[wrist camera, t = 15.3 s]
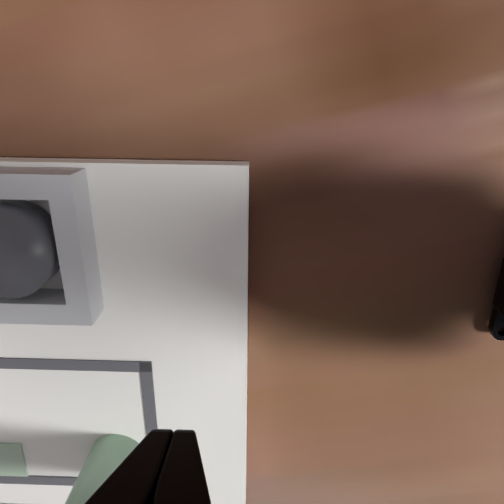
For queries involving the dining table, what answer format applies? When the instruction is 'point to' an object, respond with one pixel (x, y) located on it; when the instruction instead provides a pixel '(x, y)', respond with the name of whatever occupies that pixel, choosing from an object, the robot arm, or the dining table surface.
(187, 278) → the board
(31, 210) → the button
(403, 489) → the dining table surface
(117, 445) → the cylinder
